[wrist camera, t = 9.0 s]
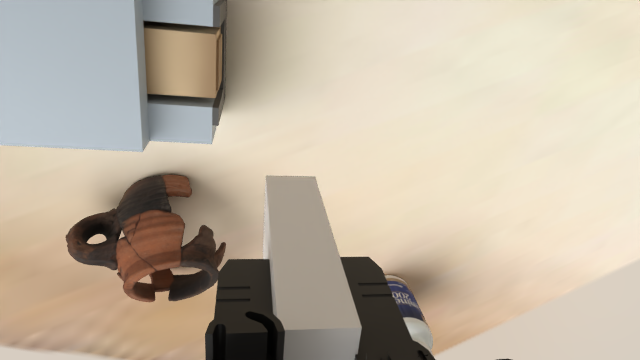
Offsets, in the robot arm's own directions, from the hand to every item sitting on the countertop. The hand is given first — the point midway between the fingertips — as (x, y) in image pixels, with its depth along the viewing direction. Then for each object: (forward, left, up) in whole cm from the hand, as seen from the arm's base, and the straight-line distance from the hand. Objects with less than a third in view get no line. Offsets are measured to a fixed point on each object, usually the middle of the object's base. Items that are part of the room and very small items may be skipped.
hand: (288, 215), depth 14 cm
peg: (-6, -7, -22) cm, 24 cm away
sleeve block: (-7, -7, -24) cm, 26 cm away
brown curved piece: (+6, -16, -24) cm, 30 cm away
